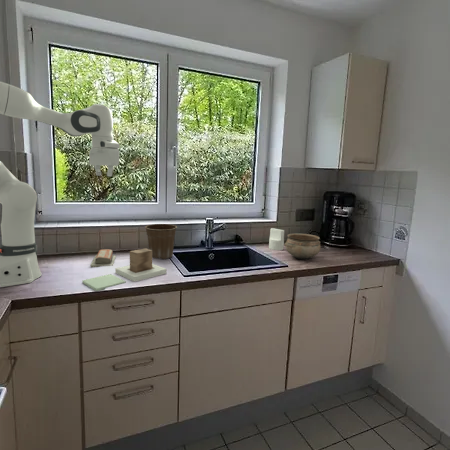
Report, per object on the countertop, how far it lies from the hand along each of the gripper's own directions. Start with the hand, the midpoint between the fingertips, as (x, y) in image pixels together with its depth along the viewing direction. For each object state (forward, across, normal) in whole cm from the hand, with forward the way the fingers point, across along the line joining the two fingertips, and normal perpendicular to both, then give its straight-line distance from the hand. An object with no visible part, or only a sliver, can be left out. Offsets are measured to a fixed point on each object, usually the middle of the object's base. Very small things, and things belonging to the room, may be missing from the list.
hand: (104, 175), depth 141 cm
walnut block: (+41, +21, +5) cm, 46 cm away
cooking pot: (+43, +56, +85) cm, 110 cm away
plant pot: (+42, +3, +29) cm, 51 cm away
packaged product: (+42, -7, +2) cm, 43 cm away
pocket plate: (+42, +21, +5) cm, 47 cm away
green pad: (+42, +21, -12) cm, 48 cm away
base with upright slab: (+43, +34, +94) cm, 108 cm away
